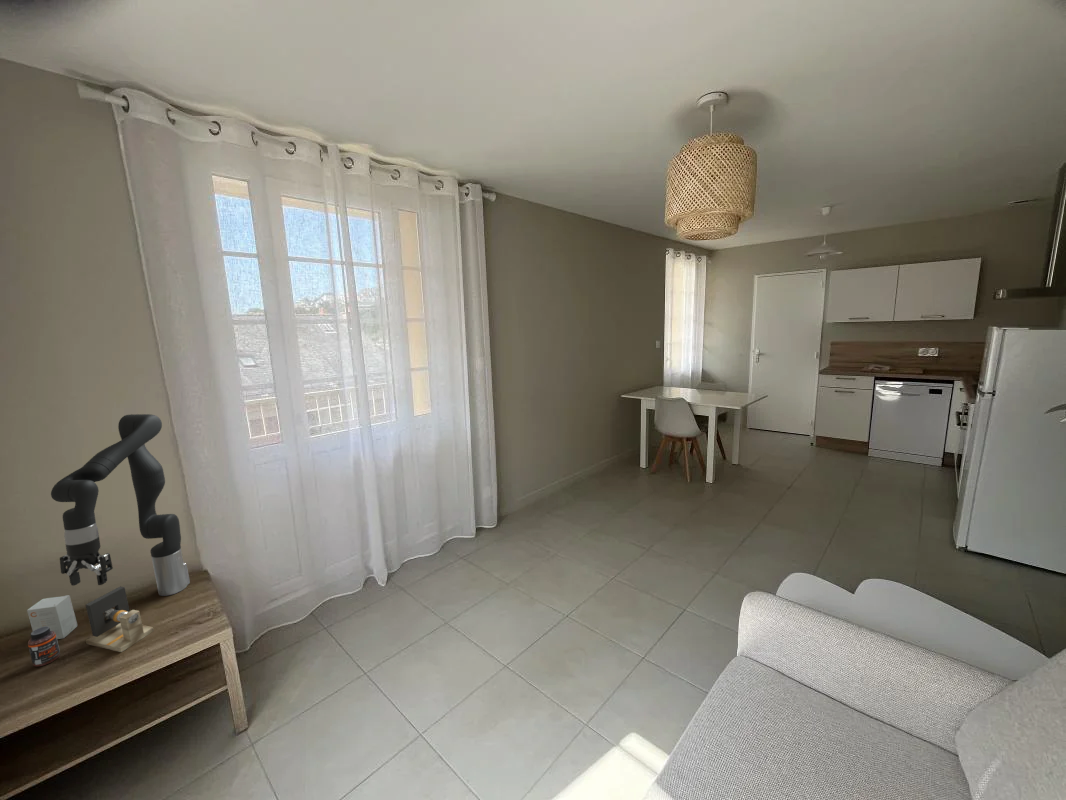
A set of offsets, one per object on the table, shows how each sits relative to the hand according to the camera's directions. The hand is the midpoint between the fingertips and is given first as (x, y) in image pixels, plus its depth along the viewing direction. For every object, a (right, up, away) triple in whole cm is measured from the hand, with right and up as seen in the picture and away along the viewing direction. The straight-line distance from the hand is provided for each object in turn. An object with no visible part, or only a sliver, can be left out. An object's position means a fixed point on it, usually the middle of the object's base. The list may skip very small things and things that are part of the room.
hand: (89, 584), depth 138 cm
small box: (-22, -23, +10) cm, 33 cm away
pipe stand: (+2, -23, +8) cm, 24 cm away
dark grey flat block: (-1, -19, +8) cm, 20 cm away
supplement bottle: (-12, -25, -2) cm, 28 cm away
